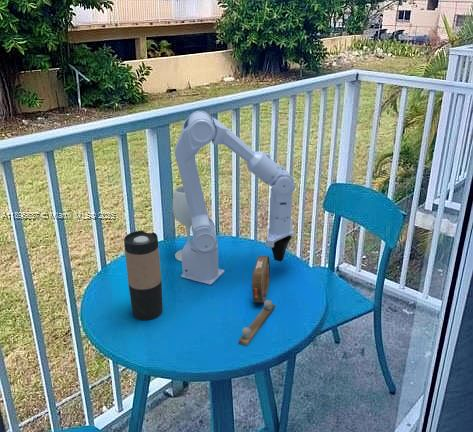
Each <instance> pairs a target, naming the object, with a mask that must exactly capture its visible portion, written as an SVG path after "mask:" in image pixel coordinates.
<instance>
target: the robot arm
mask: <svg viewBox="0 0 473 432" xmlns="http://www.w3.org/2000/svg"><path fill="white" fill-rule="evenodd" d="M209 143H212V145H223V146H225V147H226V148H228V149H229V150H231V151H232V152H233V153H235V154H236V155H237V156H238V157H240V158H241V159H242V160H244V161H245V162H246V169H247V170H248V171H249V172H251V173H252V174H253V175H255V177H257V179H259V180H260V181H261V182H263V183H264V184H265V185H269V186H270V187H271V188H270V196H269V197H270V198H269V221H268V222H269V224H268V225H269V227H268V230H267V238H266V239H265V247H267V248H271V251H272V255H273V256H272V257H273V259H274V261H276V262H280V263H281V262H283V260H284V257H285V255H286V250H287V247H288V245H289V242H290V241H291V239H292V236H294V235H295V230H292V228H293V219H292V203H293V198H292V196H293V193H294V192H295V189H296V184H295V180H294V178H293V177H292V176H291V174H290V173H289V172H288V170H287V168H285V167H284V166H283V165H282V164H281V165H279V164H278V163H276V162H275V161H274V160H273V159H272V156H271V154H270V153H268V151H267V152H264V151H260V150H259V151H254V150H253V148H251V147H250V146H249V145H247V143H245V142H244V141H243V140H242V139H241V138H240V137H238V136H237V134H235V133H234V132H233V131H232V130H231V129H230V128H229V127H228V126H226V125H225V124H223V123H222V122H221V121H220V120H218V119H217V118H215V117H211V116H210V114H209V113H208V112H206V111H205V110H204V111H203V110H197V111H193V112H192V113H191V114H189V116H188V117H187V118H186V119H185V120H184V122H183V124H182V128H181V130H180V133H179V135H178V138H177V142H176V143H175V146H174V156H175V161H176V165H177V168H178V172H179V175H180V180H181V184H182V186H183V188H184V192H185V196H186V200H187V204H188V208H189V212H190V216H191V220H192V226H191V232H192V241H191V242H188V243H187V242H186V243H185V244H184V246H183V248H182V249H183V251H182V261H181V266H182V268H181V269H182V274H181V275H180V276H181V278H183V279H187V280H191V281H194V282H195V281H196V282H198V283H202V284H206V285H210V286H211V285H213V284H214V283H215V282H216V281H217V280H218V279H219V278H220V277H221V276H223V274H224V273H225V270H224V269H222V268H219V243H218V238H217V234H216V229H215V228H216V226H215V222H214V221H213V220H212V219H211V218H210V216H209V212H208V209H207V205H206V201H205V196H204V192H203V187H202V183H201V179H200V175H199V171H198V165H197V163H196V158H195V157H196V155H197V153H198V152H199V151H200V150H201V149H202V148H203V147H204V146H206V145H208V144H209Z"/></svg>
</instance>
